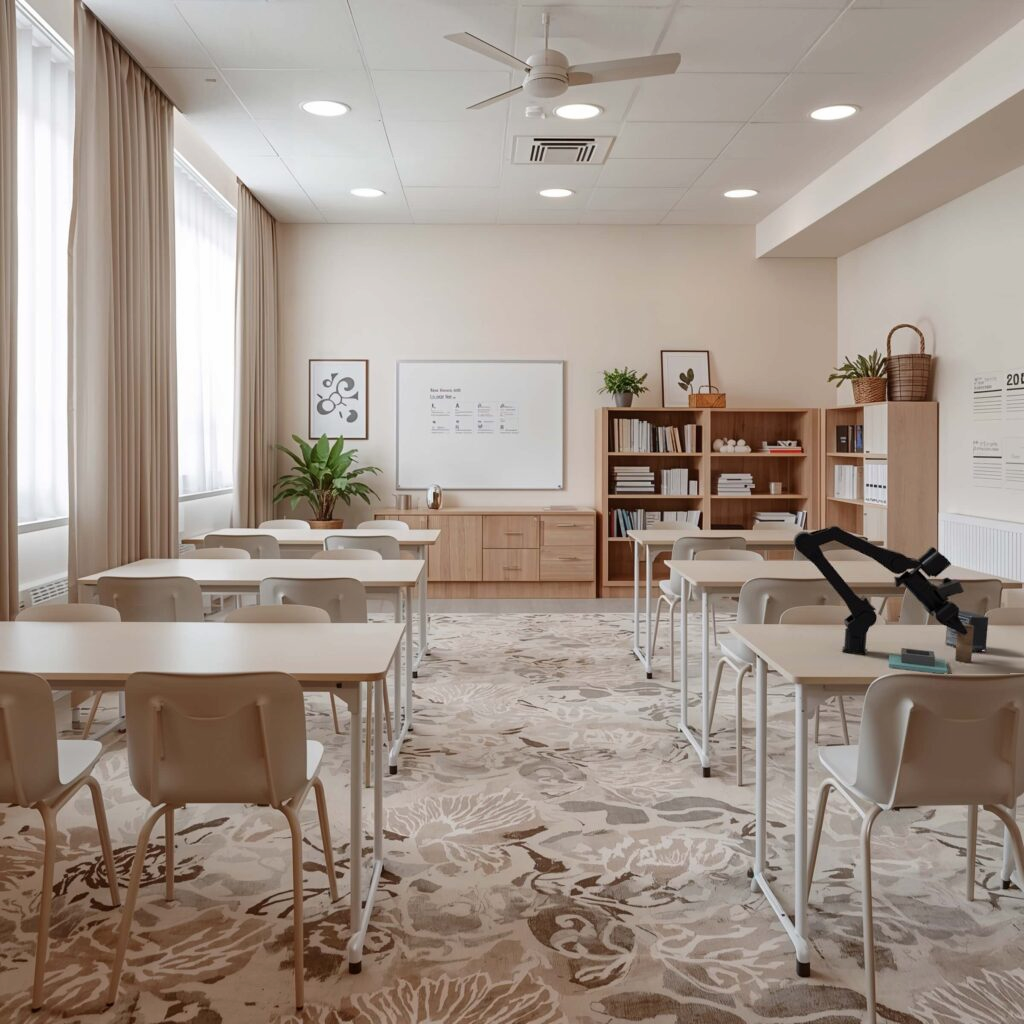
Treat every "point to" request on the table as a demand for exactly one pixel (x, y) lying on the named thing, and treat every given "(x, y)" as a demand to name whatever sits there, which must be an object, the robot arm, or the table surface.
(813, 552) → the robot arm
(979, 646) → the small box
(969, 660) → the peg
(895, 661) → the docking socket
